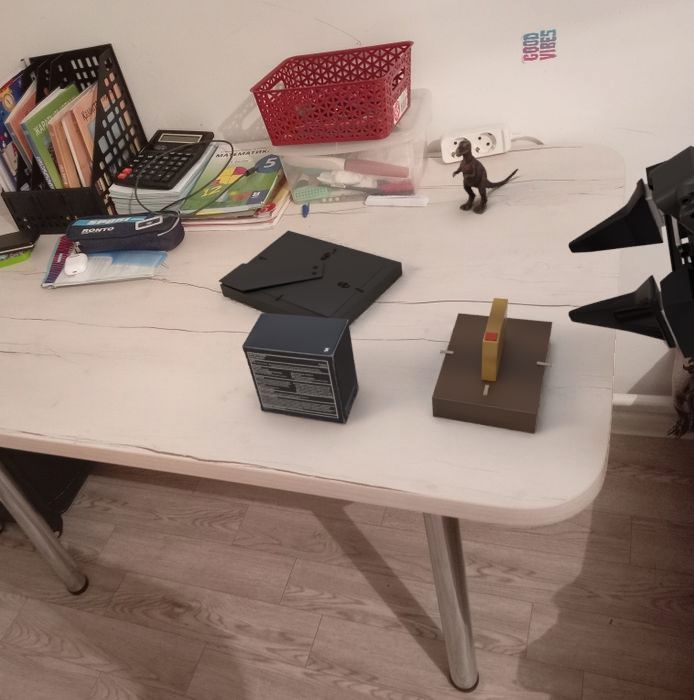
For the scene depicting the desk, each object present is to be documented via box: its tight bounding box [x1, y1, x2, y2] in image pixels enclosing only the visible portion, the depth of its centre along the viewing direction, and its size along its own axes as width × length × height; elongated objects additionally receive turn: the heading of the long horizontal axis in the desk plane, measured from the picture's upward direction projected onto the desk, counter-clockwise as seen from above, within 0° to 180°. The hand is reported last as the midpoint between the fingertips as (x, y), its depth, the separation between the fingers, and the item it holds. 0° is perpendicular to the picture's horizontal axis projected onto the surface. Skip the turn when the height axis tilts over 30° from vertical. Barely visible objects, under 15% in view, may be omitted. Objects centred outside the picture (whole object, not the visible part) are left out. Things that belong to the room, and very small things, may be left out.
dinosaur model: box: [452, 139, 520, 214], centre depth 92 cm, size 4×12×15 cm
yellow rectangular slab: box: [481, 297, 509, 381], centre depth 65 cm, size 7×1×6 cm, turn 153°
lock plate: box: [431, 312, 553, 434], centre depth 68 cm, size 14×11×3 cm
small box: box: [241, 312, 360, 424], centre depth 70 cm, size 11×6×10 cm, turn 65°
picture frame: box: [218, 230, 403, 326], centre depth 89 cm, size 16×3×21 cm
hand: (569, 280), depth 57 cm, fingers open, 9 cm apart
